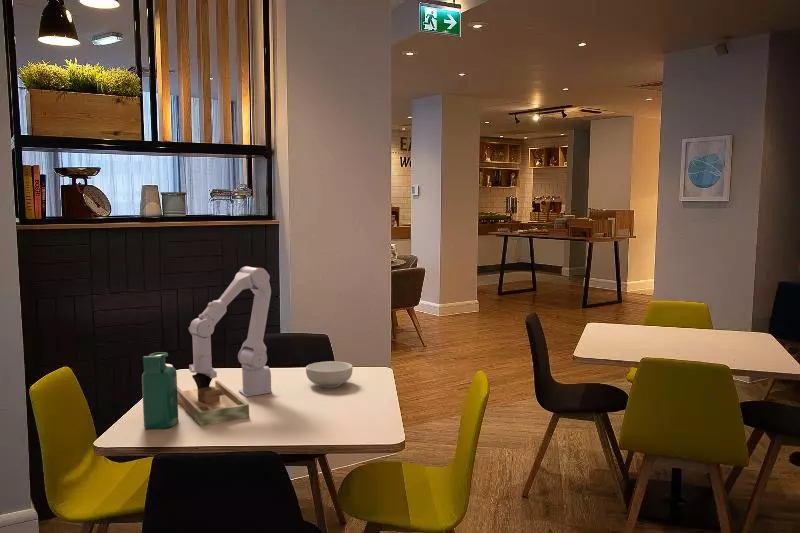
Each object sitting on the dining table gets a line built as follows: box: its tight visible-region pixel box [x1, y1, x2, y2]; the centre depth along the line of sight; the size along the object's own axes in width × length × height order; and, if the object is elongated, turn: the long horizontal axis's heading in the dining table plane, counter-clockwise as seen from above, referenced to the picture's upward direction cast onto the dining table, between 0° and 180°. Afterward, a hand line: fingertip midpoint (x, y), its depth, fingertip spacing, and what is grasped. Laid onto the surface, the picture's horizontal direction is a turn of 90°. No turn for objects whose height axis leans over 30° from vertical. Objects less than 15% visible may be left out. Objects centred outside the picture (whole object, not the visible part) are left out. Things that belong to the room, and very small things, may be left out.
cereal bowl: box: [305, 360, 354, 389], centre depth 242 cm, size 17×17×7 cm
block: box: [197, 385, 220, 404], centre depth 216 cm, size 5×5×4 cm
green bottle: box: [141, 351, 179, 430], centre depth 198 cm, size 10×8×22 cm
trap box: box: [177, 380, 250, 427], centre depth 216 cm, size 15×33×4 cm, turn 31°
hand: (203, 395), depth 219 cm, fingers closed
